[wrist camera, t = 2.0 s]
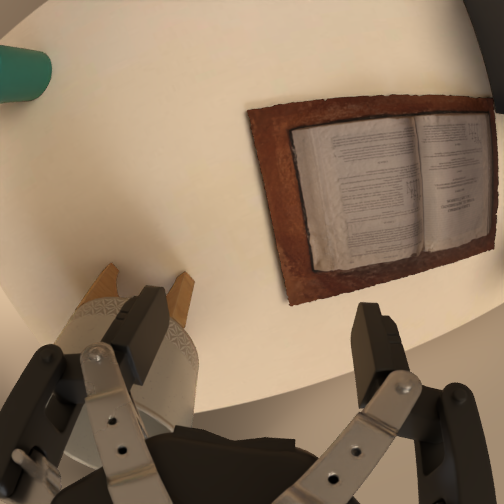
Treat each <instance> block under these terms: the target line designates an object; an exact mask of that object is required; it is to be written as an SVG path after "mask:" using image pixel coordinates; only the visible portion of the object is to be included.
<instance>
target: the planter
mask: <svg viewBox="0 0 504 504" xmlns="http://www.w3.org/2000/svg"><path fill="white" fill-rule="evenodd" d="M118 272H119V270H118V269H117V268H116V267H115V266H114V265H113V264H112V263H110V264H109V265H108V266H107V267H106V268H105V269H104V270H103V271H102V272H101V274H100V275H99V277H98V278H97V279H96V281H95V282H94V284H93V285H92V286H91V288H90V289H89V291H88V292H87V294H86V295H85V296H84V298H83V299H82V301H81V302H80V304H79V305H78V307H77V308H76V310H75V312H74V314H73V315H72V317H71V318H70V320H69V321H68V323H67V324H66V326H65V327H64V329H63V330H62V332H61V334H60V335H59V337H58V338H57V340H56V341H55V343H54V344H55V345H57V346H59V347H60V348H61V349H62V351H63V353H64V354H77V353H81V352H82V351H83V349H84V348H85V347H87V346H88V345H90V344H93V343H96V342H100V341H101V339H102V338H103V336H104V335H105V333H106V331H107V330H108V328H109V327H110V325H111V323H112V322H113V320H114V319H115V318H116V316H117V314H118V313H119V312H120V309H121V308H122V306H123V305H124V303H125V302H126V301H128V300H129V298H123V297H119V296H118V293H117V286H116V281H117V275H118ZM194 283H195V281H194V280H193V279H192V278H191V277H190V276H189V275H188V274H187V273H186V272H184V273H183V274H181V275H180V276H179V277H177V278H176V281H175V283H174V285H173V287H172V288H171V290H170V291H169V293H168V294H167V296H166V299H167V304H168V310H169V315H170V322H169V327H168V330H167V332H166V334H165V337H164V339H163V341H162V343H161V345H160V348H159V350H158V352H157V354H156V357H155V359H154V361H153V363H152V366H151V368H150V370H149V372H148V375H147V377H146V379H145V382H144V384H143V386H139V385H135V384H133V386H132V388H131V390H130V391H131V393H132V396H133V399H134V401H135V404H136V407H137V409H138V412H139V414H140V417H141V419H142V422H143V424H144V426H145V429H146V431H147V433H148V435H149V437H152V436H155V435H158V434H162V433H169V432H173V431H174V428H175V425H180V426H185V427H190V428H192V421H193V413H194V403H195V394H196V386H197V377H198V368H199V359H198V354H197V350H196V347H195V345H194V343H193V341H192V339H191V338H190V337H189V335H188V334H187V332H186V331H185V330H184V329H183V328H185V324H186V320H187V315H188V310H189V306H190V301H191V296H192V292H193V287H194ZM52 395H53V393H52ZM52 395H51V397H52ZM51 397H50V398H51ZM49 400H50V399H49ZM48 402H49V401H48ZM47 404H48V403H47ZM46 406H47V405H46ZM45 408H46V407H45ZM63 453H64V454H66V455H68V456H69V457H71V458H73V459H74V460H76V461H78V462H80V463H82V464H84V465H87V466H89V467H91V468H94V469H96V470H97V469H99V468H100V467H102V466H103V465H102V462H101V459H100V456H99V453H98V449H97V446H96V443H95V439H94V436H93V432H92V428H91V425H90V421H89V417H88V413H87V409H86V404H84V405H83V407H82V410H81V412H80V414H79V416H78V419H77V421H76V423H75V426H74V428H73V430H72V433H71V435H70V438H69V440H68V442H67V445H66V447H65V450H64V452H63Z"/></svg>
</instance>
